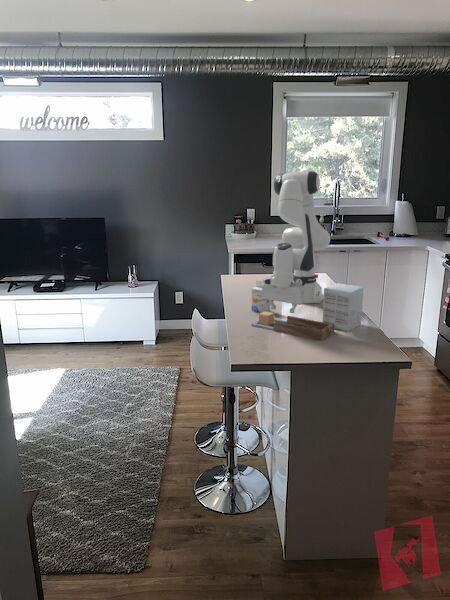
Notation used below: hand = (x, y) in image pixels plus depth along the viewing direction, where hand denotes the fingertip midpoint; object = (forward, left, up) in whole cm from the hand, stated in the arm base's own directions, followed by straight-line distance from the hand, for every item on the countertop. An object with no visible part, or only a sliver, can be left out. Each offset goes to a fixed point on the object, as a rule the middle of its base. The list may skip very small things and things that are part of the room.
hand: (282, 311), depth 215 cm
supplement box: (-17, +21, -7) cm, 28 cm away
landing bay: (+1, -6, -7) cm, 9 cm away
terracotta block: (+1, -8, -7) cm, 11 cm away
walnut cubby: (+1, +11, -7) cm, 13 cm away
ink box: (-15, -21, -7) cm, 27 cm away
